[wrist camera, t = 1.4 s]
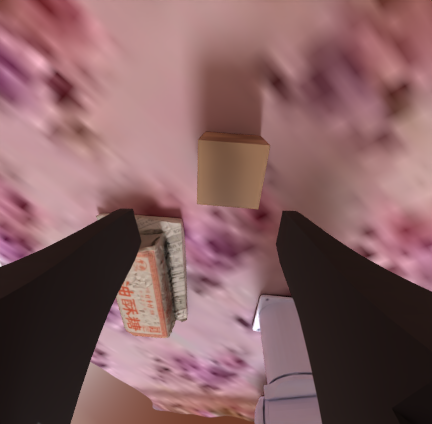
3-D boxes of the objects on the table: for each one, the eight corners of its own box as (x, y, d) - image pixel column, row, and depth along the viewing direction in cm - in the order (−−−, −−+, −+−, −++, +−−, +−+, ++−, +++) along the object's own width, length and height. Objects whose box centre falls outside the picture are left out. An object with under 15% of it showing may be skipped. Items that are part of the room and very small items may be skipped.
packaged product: (183, 345, 27) (113, 339, 28) (189, 312, 31) (128, 307, 32) (174, 239, 19) (72, 233, 19) (184, 215, 23) (101, 209, 23)
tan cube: (260, 135, 18) (270, 145, 14) (252, 186, 20) (258, 209, 16) (205, 131, 18) (198, 139, 14) (204, 182, 20) (197, 204, 16)
